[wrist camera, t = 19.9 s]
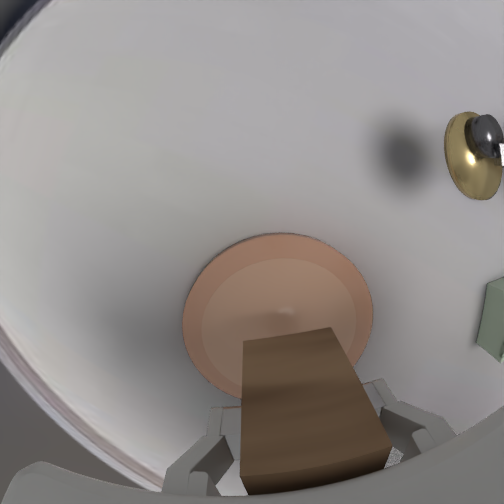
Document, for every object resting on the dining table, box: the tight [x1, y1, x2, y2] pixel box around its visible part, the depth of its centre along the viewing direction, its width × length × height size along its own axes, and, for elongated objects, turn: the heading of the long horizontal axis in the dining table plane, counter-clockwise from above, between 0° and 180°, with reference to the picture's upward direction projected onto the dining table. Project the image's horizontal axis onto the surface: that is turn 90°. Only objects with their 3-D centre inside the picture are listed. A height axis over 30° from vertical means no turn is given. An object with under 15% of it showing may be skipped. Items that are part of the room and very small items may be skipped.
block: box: [240, 327, 393, 495], centre depth 9 cm, size 4×4×7 cm
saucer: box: [182, 233, 373, 399], centre depth 17 cm, size 12×12×1 cm
